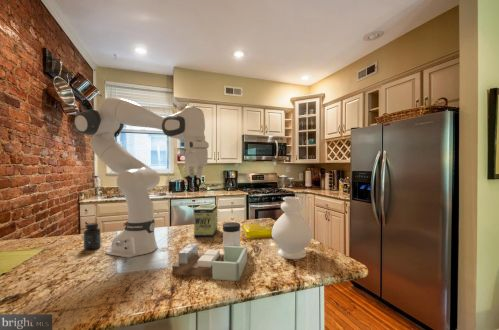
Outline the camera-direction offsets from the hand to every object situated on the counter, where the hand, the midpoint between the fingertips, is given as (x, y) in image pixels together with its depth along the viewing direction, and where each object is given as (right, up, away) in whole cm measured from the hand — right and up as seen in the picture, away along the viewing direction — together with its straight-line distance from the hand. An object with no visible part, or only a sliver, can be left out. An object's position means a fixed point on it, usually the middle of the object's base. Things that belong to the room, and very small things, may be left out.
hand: (195, 177), depth 97 cm
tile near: (+7, -32, -12) cm, 35 cm away
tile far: (+8, -32, -6) cm, 33 cm away
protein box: (-2, -35, +37) cm, 51 cm away
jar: (+15, -35, +10) cm, 39 cm away
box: (+16, -35, -10) cm, 40 cm away
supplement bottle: (-54, -36, +15) cm, 67 cm away
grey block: (-1, -32, -7) cm, 33 cm away
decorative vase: (+42, -35, +5) cm, 55 cm away
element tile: (+28, -35, +35) cm, 57 cm away
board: (+4, -35, -8) cm, 36 cm away
